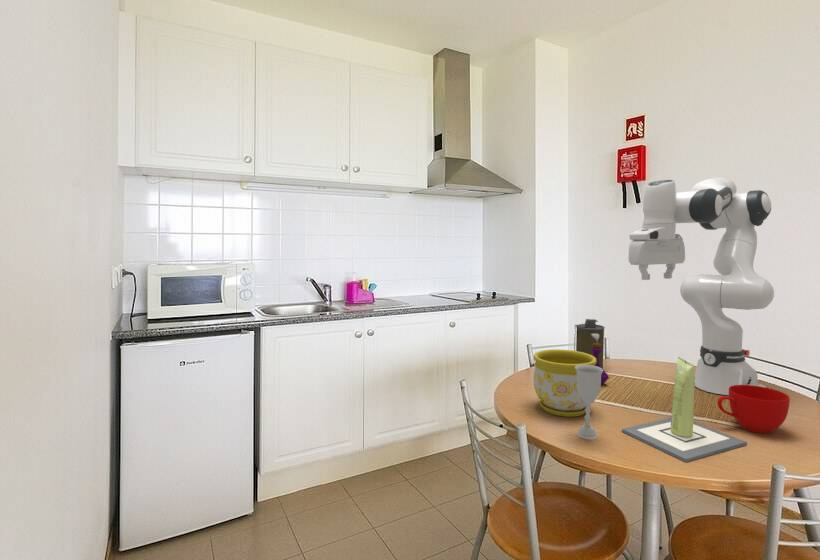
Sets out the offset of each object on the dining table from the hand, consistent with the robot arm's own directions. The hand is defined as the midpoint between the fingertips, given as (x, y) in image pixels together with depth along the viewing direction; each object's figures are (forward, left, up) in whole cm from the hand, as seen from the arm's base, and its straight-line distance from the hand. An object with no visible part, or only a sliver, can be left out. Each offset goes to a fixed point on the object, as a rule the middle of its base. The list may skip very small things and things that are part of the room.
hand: (656, 279), depth 136 cm
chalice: (+36, +10, -39) cm, 54 cm away
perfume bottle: (+2, -22, -39) cm, 45 cm away
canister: (-9, -36, -39) cm, 54 cm away
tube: (+15, +21, -38) cm, 46 cm away
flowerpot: (+29, -7, -39) cm, 49 cm away
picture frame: (+15, +21, -39) cm, 47 cm away
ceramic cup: (-7, +24, -39) cm, 47 cm away
